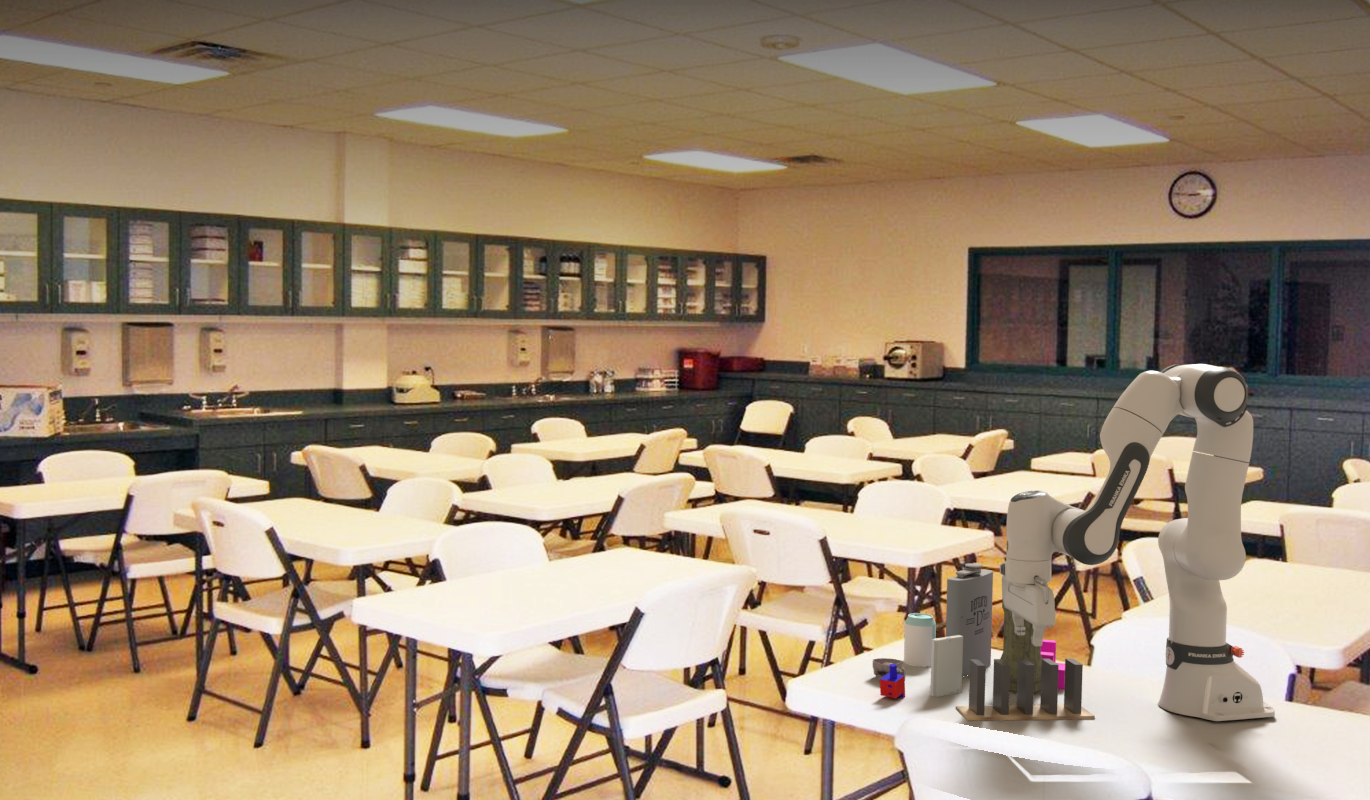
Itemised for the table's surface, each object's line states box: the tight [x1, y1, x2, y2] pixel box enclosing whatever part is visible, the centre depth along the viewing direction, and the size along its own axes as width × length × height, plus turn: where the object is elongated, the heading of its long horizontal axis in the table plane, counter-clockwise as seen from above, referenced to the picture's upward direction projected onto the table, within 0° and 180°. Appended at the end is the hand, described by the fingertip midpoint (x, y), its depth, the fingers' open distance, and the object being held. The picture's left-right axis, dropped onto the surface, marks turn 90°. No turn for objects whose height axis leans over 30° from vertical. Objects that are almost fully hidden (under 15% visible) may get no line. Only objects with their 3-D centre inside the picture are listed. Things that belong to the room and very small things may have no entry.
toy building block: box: [879, 664, 906, 699], centre depth 270 cm, size 4×4×8 cm
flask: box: [945, 562, 994, 678], centre depth 293 cm, size 17×5×25 cm, turn 141°
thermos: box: [999, 540, 1042, 696], centre depth 280 cm, size 9×12×35 cm
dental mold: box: [872, 657, 906, 682], centre depth 284 cm, size 8×7×5 cm
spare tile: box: [1016, 659, 1035, 715], centre depth 262 cm, size 2×5×10 cm, turn 5°
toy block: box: [1041, 639, 1065, 691], centre depth 289 cm, size 15×6×8 cm, turn 162°
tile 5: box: [1063, 658, 1084, 714], centre depth 263 cm, size 2×5×10 cm, turn 6°
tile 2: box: [992, 658, 1010, 715], centre depth 262 cm, size 2×5×10 cm, turn 6°
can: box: [903, 612, 937, 668], centre depth 299 cm, size 7×7×12 cm
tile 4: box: [1039, 659, 1059, 714], centre depth 262 cm, size 2×5×10 cm, turn 6°
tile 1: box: [968, 659, 987, 715], centre depth 261 cm, size 2×5×10 cm, turn 6°
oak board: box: [955, 704, 1096, 721], centre depth 262 cm, size 26×8×1 cm, turn 96°
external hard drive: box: [929, 635, 963, 698], centre depth 275 cm, size 2×8×12 cm, turn 123°
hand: (1028, 640), depth 262 cm, fingers open, 8 cm apart
